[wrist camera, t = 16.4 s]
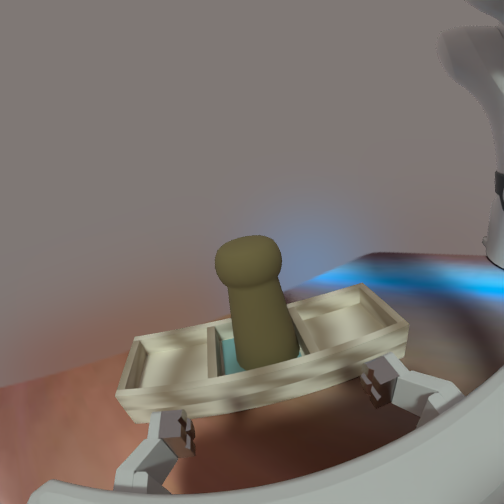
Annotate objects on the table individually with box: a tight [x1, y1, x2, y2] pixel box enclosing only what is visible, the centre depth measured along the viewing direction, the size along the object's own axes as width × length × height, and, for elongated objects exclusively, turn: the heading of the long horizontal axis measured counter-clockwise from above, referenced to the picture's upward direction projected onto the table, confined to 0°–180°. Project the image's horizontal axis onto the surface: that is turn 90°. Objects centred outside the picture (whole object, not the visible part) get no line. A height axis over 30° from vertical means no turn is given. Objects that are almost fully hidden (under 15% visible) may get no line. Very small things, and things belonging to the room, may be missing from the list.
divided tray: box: [115, 283, 409, 423], centre depth 25 cm, size 26×9×4 cm, turn 98°
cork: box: [215, 235, 300, 371], centre depth 23 cm, size 6×6×11 cm
